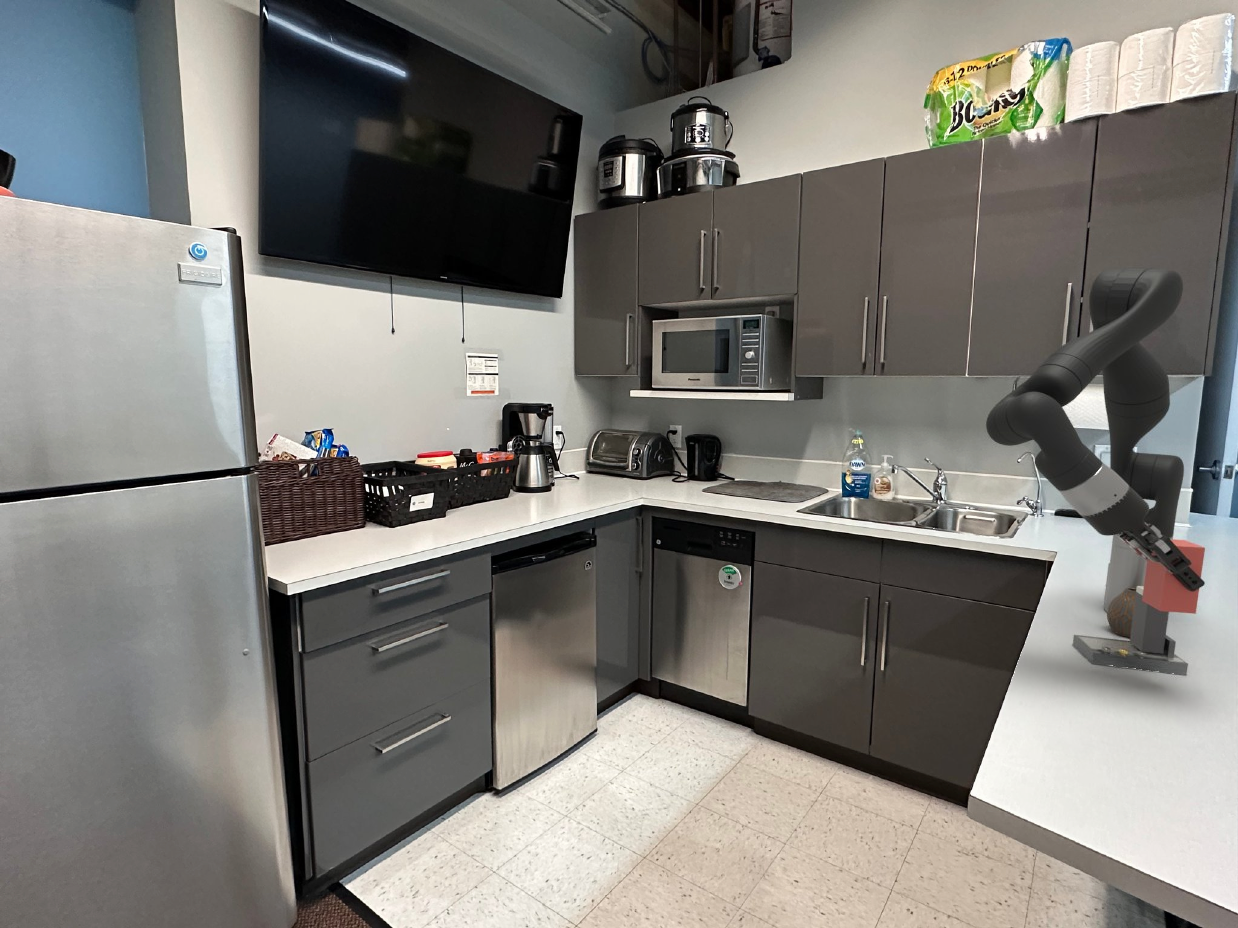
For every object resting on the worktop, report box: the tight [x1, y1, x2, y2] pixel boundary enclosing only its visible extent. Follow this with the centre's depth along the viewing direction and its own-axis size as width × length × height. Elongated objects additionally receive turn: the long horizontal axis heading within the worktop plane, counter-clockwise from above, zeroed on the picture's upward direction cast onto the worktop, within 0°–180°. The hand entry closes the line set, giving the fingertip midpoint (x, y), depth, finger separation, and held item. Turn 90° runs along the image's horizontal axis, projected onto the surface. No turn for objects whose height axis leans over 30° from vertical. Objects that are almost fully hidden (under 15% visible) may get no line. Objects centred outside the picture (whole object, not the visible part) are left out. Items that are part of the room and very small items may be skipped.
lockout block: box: [1142, 538, 1206, 615], centre depth 93 cm, size 4×4×10 cm
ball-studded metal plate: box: [1072, 634, 1189, 676], centre depth 106 cm, size 13×8×5 cm, turn 73°
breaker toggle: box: [1129, 586, 1170, 654], centre depth 104 cm, size 3×4×10 cm
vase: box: [1106, 588, 1136, 638], centre depth 117 cm, size 7×7×9 cm
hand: (1186, 581), depth 93 cm, fingers closed on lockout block, 4 cm apart
